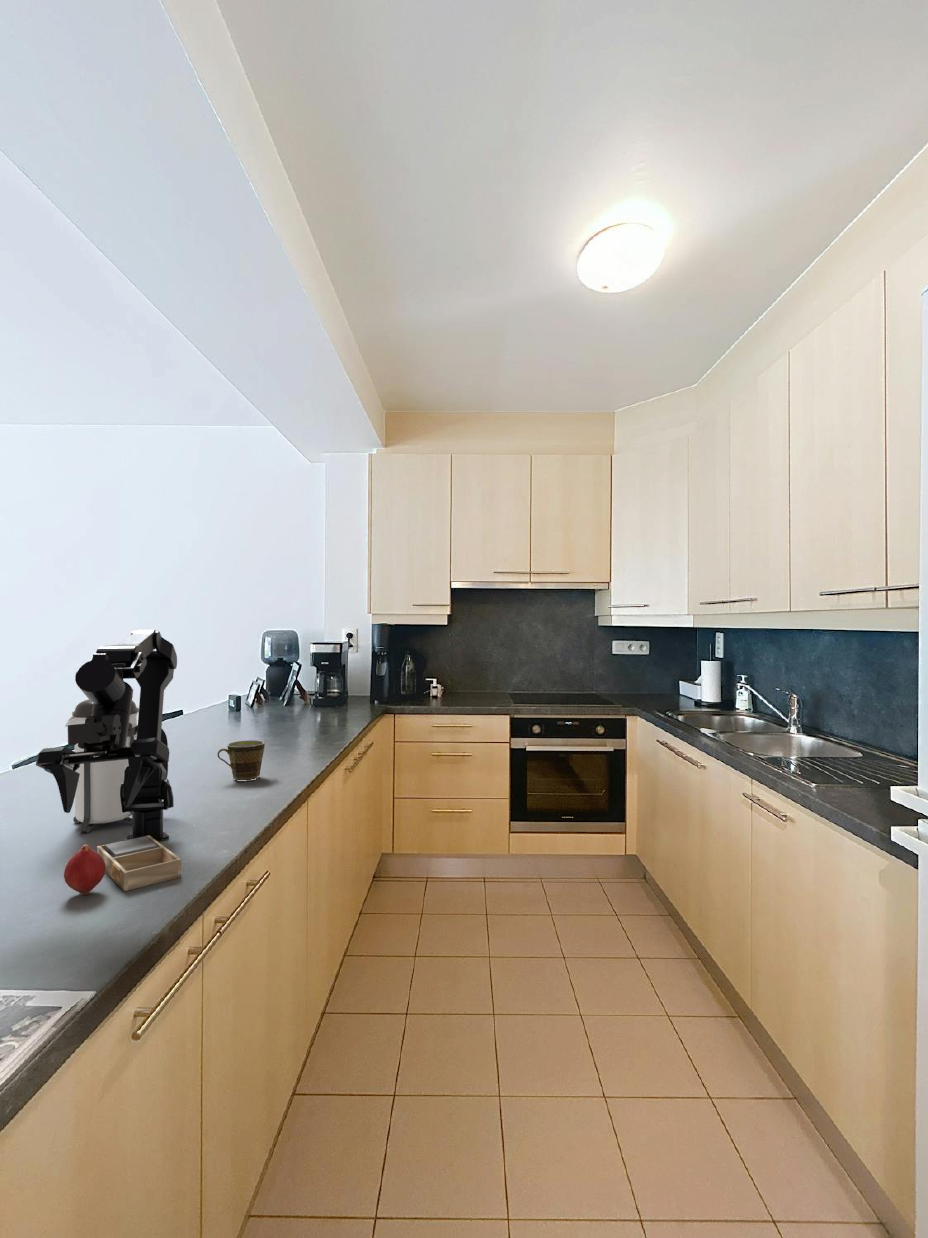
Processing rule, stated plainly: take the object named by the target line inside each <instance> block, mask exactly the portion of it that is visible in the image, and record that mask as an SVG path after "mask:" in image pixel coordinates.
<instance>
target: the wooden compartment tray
mask: <svg viewBox="0 0 928 1238" xmlns="http://www.w3.org/2000/svg"><path fill="white" fill-rule="evenodd" d="M96 852H97V853H98V854H99V855H100V856H101V857H102V858H103V859H104V862H105V867H106V869H105V874H107V875H108V876H109V877H110V878H111V879H112V880H113V881H114V883H116V884H117V886H119V887H120V888H121V889H122V890H123V891H124V892H127V891H131V890H135V889H139V888H143V887H146V886H150V885H155V884H157V883H162V882H167V881H170V880H173V879H174V880H175V879H178V878H181V877H182V858H181V857H179V856H178V855H176V854H175V853H174V852H172V851H171V850H170V849H169V848H167V847H165V846H164V845H163V844H162V843H160V842H159V841H156V840H155V839H154V838H152V837H151V836H150V835H149V836H144V837H139V838H135V839H130V840H128V839H126V840H122V841H115V842H111V843H107V844H102V845H97V846H96Z"/></svg>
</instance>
